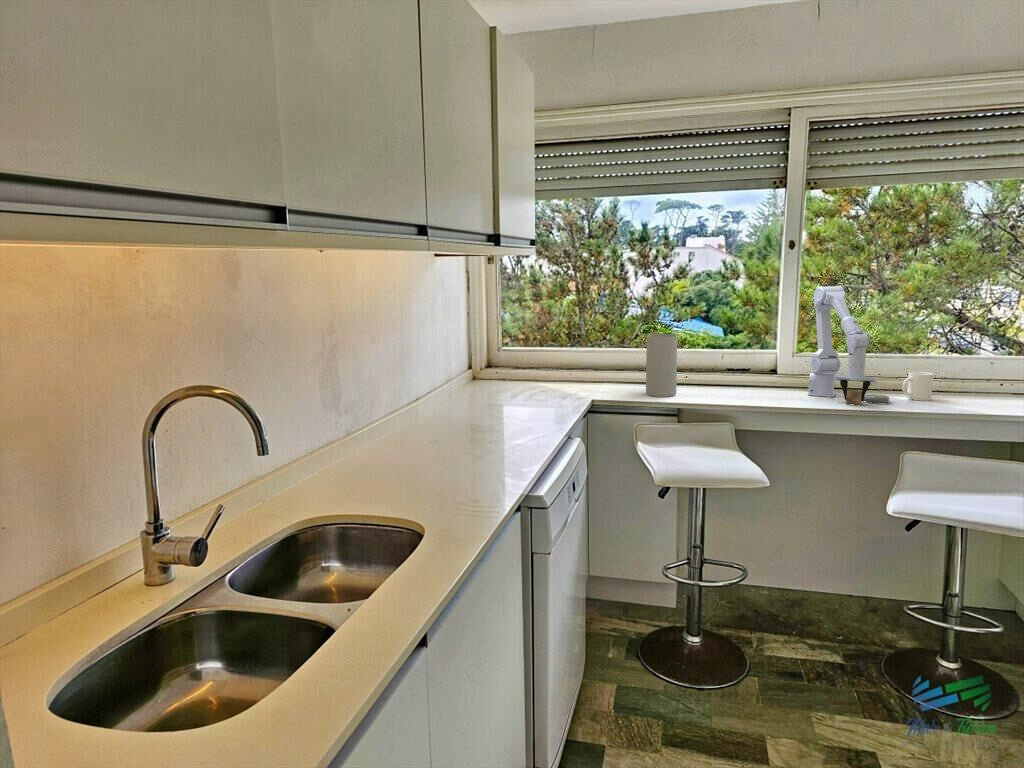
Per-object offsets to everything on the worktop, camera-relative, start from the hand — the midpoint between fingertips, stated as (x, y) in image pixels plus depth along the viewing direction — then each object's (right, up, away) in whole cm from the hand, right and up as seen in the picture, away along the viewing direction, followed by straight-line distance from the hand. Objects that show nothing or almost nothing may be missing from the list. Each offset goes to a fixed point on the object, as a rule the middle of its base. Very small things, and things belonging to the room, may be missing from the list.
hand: (854, 400), depth 259 cm
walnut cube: (0, -1, 0) cm, 1 cm away
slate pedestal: (+10, -1, +4) cm, 11 cm away
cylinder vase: (-68, +2, +26) cm, 73 cm away
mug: (+27, 0, +6) cm, 28 cm away
